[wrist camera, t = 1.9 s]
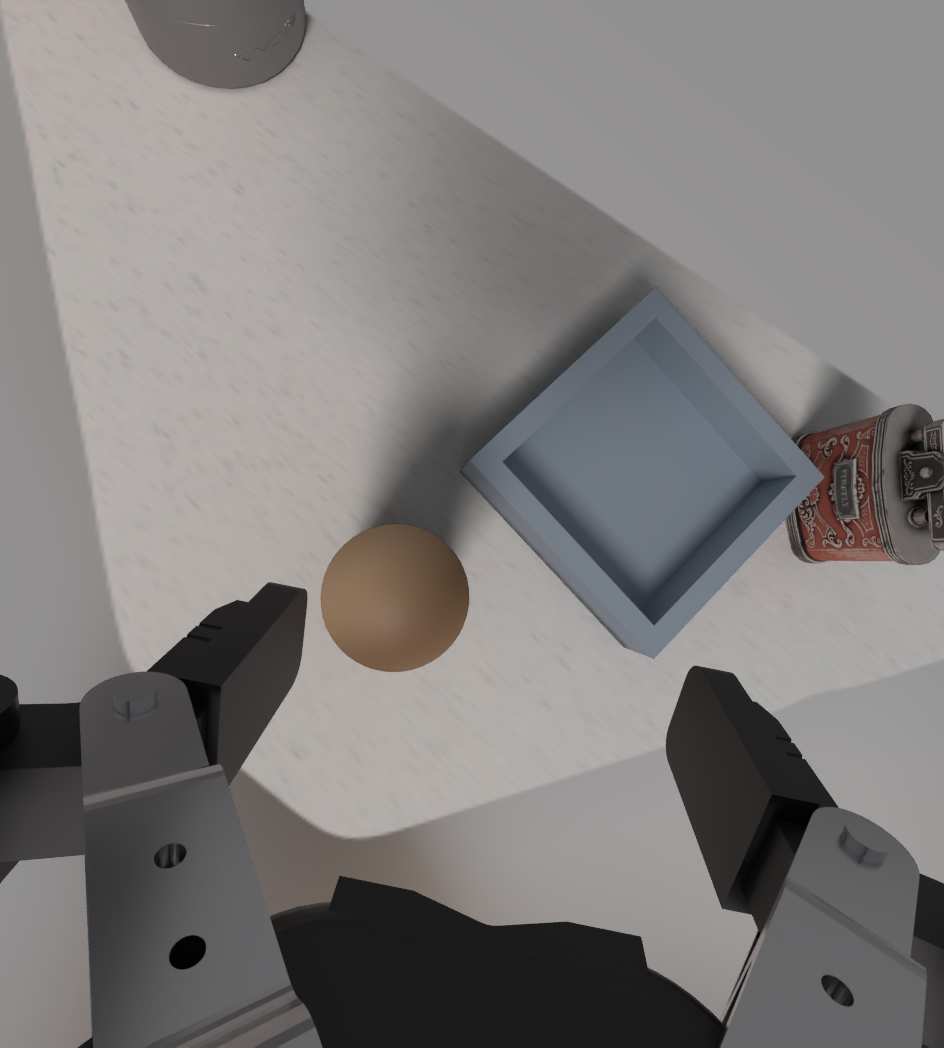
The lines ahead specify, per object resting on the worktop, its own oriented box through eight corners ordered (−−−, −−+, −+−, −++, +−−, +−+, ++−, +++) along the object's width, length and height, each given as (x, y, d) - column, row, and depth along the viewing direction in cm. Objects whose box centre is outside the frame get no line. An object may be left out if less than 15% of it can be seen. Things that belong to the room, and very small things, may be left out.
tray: (459, 471, 33) (469, 460, 29) (626, 316, 35) (655, 286, 31) (623, 646, 34) (653, 658, 30) (776, 485, 36) (824, 477, 32)
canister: (326, 580, 32) (288, 596, 20) (395, 516, 33) (399, 493, 21) (391, 648, 32) (393, 703, 20) (459, 583, 33) (498, 598, 21)
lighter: (779, 434, 36) (926, 388, 26) (828, 434, 37) (991, 390, 27) (786, 563, 36) (938, 566, 26) (835, 562, 36) (1003, 564, 26)
